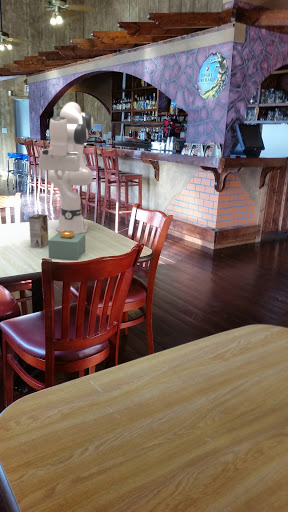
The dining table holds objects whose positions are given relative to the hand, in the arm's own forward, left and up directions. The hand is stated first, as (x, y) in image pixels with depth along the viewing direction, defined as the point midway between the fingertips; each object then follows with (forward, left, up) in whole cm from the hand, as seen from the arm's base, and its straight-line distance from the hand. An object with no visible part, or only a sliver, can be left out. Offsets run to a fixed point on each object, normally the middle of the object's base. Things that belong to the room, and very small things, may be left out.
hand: (59, 179), depth 210 cm
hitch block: (+10, +7, -36) cm, 38 cm away
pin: (+10, +7, -35) cm, 37 cm away
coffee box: (-2, -12, -36) cm, 38 cm away
